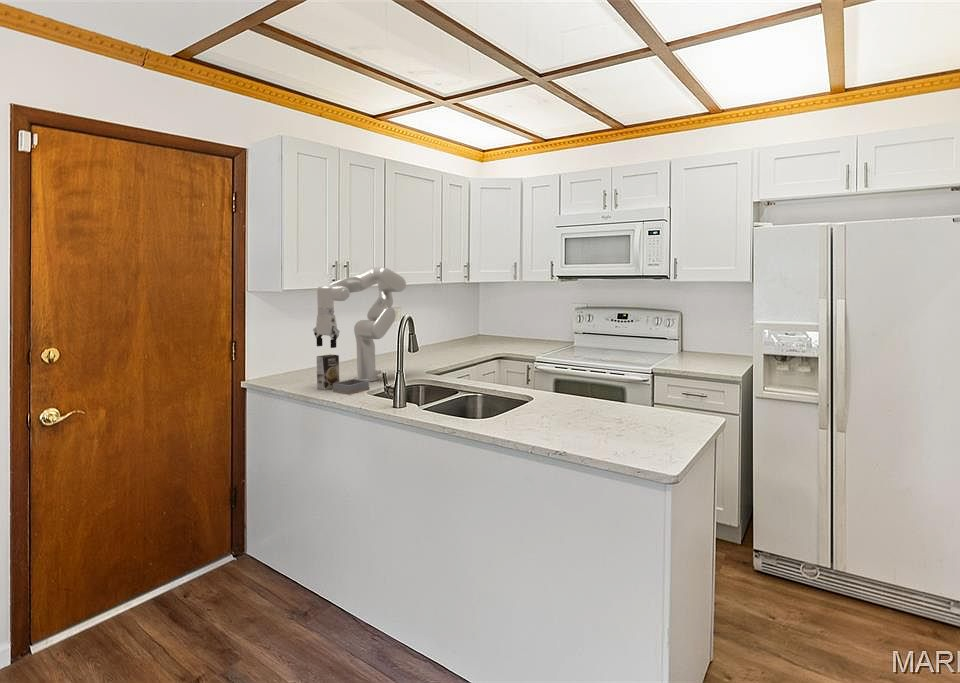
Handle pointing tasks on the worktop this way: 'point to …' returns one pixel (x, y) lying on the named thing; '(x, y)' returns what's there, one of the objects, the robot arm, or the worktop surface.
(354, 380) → the dock
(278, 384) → the worktop surface
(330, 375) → the coffee box
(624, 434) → the worktop surface
